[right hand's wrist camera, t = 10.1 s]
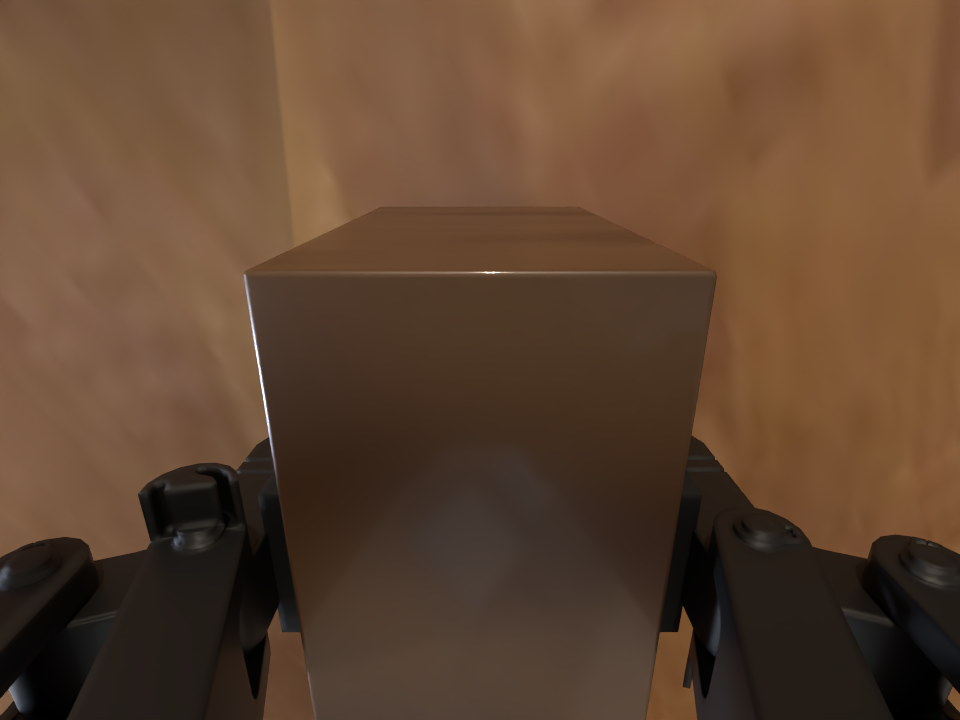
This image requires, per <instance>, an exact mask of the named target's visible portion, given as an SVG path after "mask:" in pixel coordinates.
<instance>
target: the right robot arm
mask: <svg viewBox="0 0 960 720" xmlns="http://www.w3.org/2000/svg"><path fill="white" fill-rule="evenodd" d="M138 496H139V500H140V504H141V507H142V511H143V515H144V518H145V522H146V526H147V529H148V533H149V537H150V540H151V542H150V544H149V546H148V548H147V549H146V550H143V551H139V552H135V553H130V554H125V555H121V556H116V557H111V558H106V559H101V560H97V561H93V558H92V554H91V551H90V548H89V545H87V544H86V543H85V542H84V541H82V540H81V539H76V538H69V537H62V538H54V539H46V540H42V541H37V542H36V543H31V544H28V545H25V546H22V547H20V548H19V549H17V550H15V551H13V552H11V553H9V554H7V555H4V556H2V557H1V558H0V698H1V697H2V696H3V695H4V694H5V692H6V691H7V690H8V689H9V690H10V693H11V695H12V697H13V699H14V701H13V702H12V703H11V705H10V706H9V707H8V708H7V709H6V711H5V712H4V713H2V714H1V715H0V720H263V713H264V705H265V697H266V688H267V680H268V672H269V663H270V655H271V651H270V644H269V638H268V633H267V630H268V627H269V625H270V623H271V621H272V619H273V616H274V614H275V612H276V610H277V608H278V611H279V617H280V622H281V628H282V632H301V631H300V625H299V619H298V612H297V606H296V600H295V594H294V588H293V581H292V575H291V569H290V563H289V557H288V550H287V544H286V538H285V532H284V526H283V519H282V513H281V507H280V501H279V495H278V488H277V482H276V476H275V470H274V463H273V457H272V451H271V445H270V439H269V438H267V439H265V440H264V441H262V442H261V443H259V444H258V445H256V447H255V448H254V449H253V450H252V452H251V453H250V454H249V456H248V457H247V458H246V462H243V463H242V464H241V466H240V467H239V468H238V470H237V471H235V470H234V469H233V468H231V467H230V466H228V465H223V464H219V463H199V464H194V465H190V466H185V467H180V468H178V469H175V470H173V471H170V472H167V473H165V474H162V475H161V476H159V477H157V478H156V479H154V480H153V481H151V482H149V483H148V484H147V485H146V486H145V487H144V488H143V489H142V490H141V491H140V492H139V493H138ZM682 607H684V609H685V611H686V613H687V615H688V618H689V620H690V622H691V624H692V626H693V633H692V638H691V643H690V648H689V654H688V659H687V664H686V669H685V675H684V682H683V687H686V688H690V686H691V681H692V679H693V687H694V695H695V704H696V712H697V720H960V712H959V711H958V710H957V709H956V708H955V707H954V706H953V705H952V703H951V702H950V701H949V700H948V699H947V698H948V696H949V694H950V691H951V689H952V687H954V688H955V689H956V690H957V691H958V693H959V694H960V554H958V553H956V552H954V551H951V550H949V549H947V548H945V547H943V546H942V545H940V544H938V543H935V542H932V541H929V540H928V541H926V540H925V539H921V538H917V537H910V536H902V535H889V536H882V537H880V538H878V539H877V540H876V541H874V542H873V543H872V546H871V549H870V552H869V555H868V559H866V558H861V557H856V556H851V555H846V554H841V553H836V552H832V551H827V550H823V549H819V548H815V547H812V545H811V543H810V541H809V539H808V538H807V537H806V536H805V534H804V533H803V532H802V530H801V529H800V528H798V527H797V526H795V525H794V524H793V523H791V522H790V521H789V520H787V519H785V518H783V517H781V516H779V515H776V514H774V513H772V512H770V511H766V510H762V509H758V508H755V507H754V506H753V505H752V504H751V502H750V501H749V500H748V499H747V497H746V496H745V495H744V494H743V492H742V491H741V490H740V488H739V487H738V486H737V485H736V483H735V482H734V481H733V480H732V478H731V477H730V476H729V475H728V473H727V472H724V468H723V467H722V466H721V464H720V463H719V462H718V461H717V460H715V457H714V456H713V454H712V453H711V452H710V450H709V449H708V448H707V447H706V445H705V444H704V443H703V442H701V441H699V440H698V439H696V438H695V437H693V436H692V435H691V440H690V446H689V452H688V459H687V465H686V471H685V477H684V484H683V490H682V496H681V502H680V508H679V515H678V521H677V527H676V533H675V540H674V546H673V552H672V558H671V565H670V571H669V577H668V583H667V589H666V596H665V602H664V608H663V614H662V621H661V627H660V632H678V629H679V624H680V618H681V612H682Z"/></svg>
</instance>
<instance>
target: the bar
mask: <svg viewBox="0 0 960 720" xmlns="http://www.w3.org/2000/svg"><path fill="white" fill-rule="evenodd" d="M716 278H717V276H716V272H715V271H714V270H712V269H710V268H707V267H705V266H703V265H701V264H699V263H697V262H695V261H693V260H690V259H688V258H686V257H684V256H682V255H680V254H678V253H676V252H673V251H671V250H669V249H667V248H665V247H663V246H661V245H659V244H656V243H654V242H652V241H650V240H648V239H646V238H644V237H642V236H639V235H637V234H635V233H633V232H631V231H629V230H627V229H625V228H622V227H620V226H618V225H616V224H614V223H612V222H610V221H608V220H605V219H603V218H601V217H599V216H597V215H595V214H593V213H591V212H589V211H586V210H584V209H582V208H580V207H380V208H378V209H376V210H374V211H372V212H370V213H367V214H365V215H363V216H361V217H359V218H357V219H355V220H353V221H350V222H348V223H346V224H344V225H342V226H340V227H338V228H336V229H334V230H331V231H329V232H327V233H325V234H323V235H321V236H319V237H317V238H314V239H312V240H310V241H308V242H306V243H304V244H302V245H300V246H298V247H295V248H293V249H291V250H289V251H287V252H285V253H283V254H281V255H278V256H276V257H274V258H272V259H270V260H268V261H266V262H264V263H262V264H259V265H257V266H255V267H253V268H251V269H249V270H247V271H245V273H244V284H245V290H246V296H247V302H248V308H249V315H250V321H251V327H252V333H253V339H254V346H255V352H256V358H257V364H258V370H259V377H260V383H261V389H262V395H263V401H264V408H265V414H266V420H267V426H268V432H269V439H270V445H271V451H272V457H273V463H274V470H275V476H276V482H277V488H278V495H279V501H280V507H281V513H282V519H283V526H284V532H285V538H286V544H287V550H288V557H289V563H290V569H291V575H292V581H293V588H294V594H295V600H296V606H297V612H298V619H299V625H300V631H301V637H302V643H303V650H304V656H305V662H306V668H307V674H308V681H309V687H310V693H311V699H312V706H313V712H314V718H315V720H646V714H647V708H648V702H649V695H650V689H651V683H652V677H653V670H654V664H655V658H656V652H657V645H658V639H659V633H660V627H661V621H662V614H663V608H664V602H665V596H666V589H667V583H668V577H669V571H670V565H671V558H672V552H673V546H674V540H675V533H676V527H677V521H678V515H679V508H680V502H681V496H682V490H683V484H684V477H685V471H686V465H687V459H688V452H689V446H690V440H691V434H692V427H693V421H694V415H695V409H696V403H697V396H698V390H699V384H700V378H701V371H702V365H703V359H704V353H705V346H706V340H707V334H708V328H709V322H710V315H711V309H712V303H713V297H714V290H715V284H716Z"/></svg>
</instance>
